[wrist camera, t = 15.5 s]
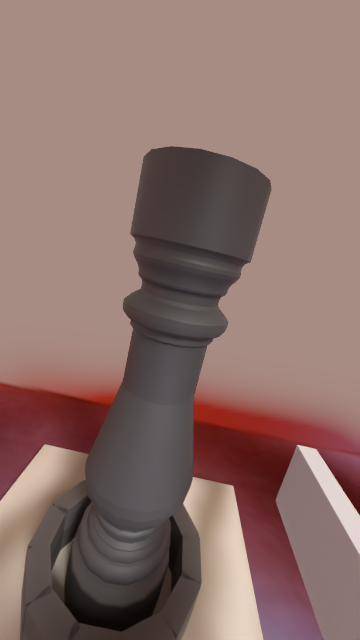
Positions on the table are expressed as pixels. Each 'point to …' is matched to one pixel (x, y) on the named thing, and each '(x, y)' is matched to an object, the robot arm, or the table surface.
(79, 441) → the table surface
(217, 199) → the candle holder
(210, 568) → the socket board
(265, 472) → the table surface
